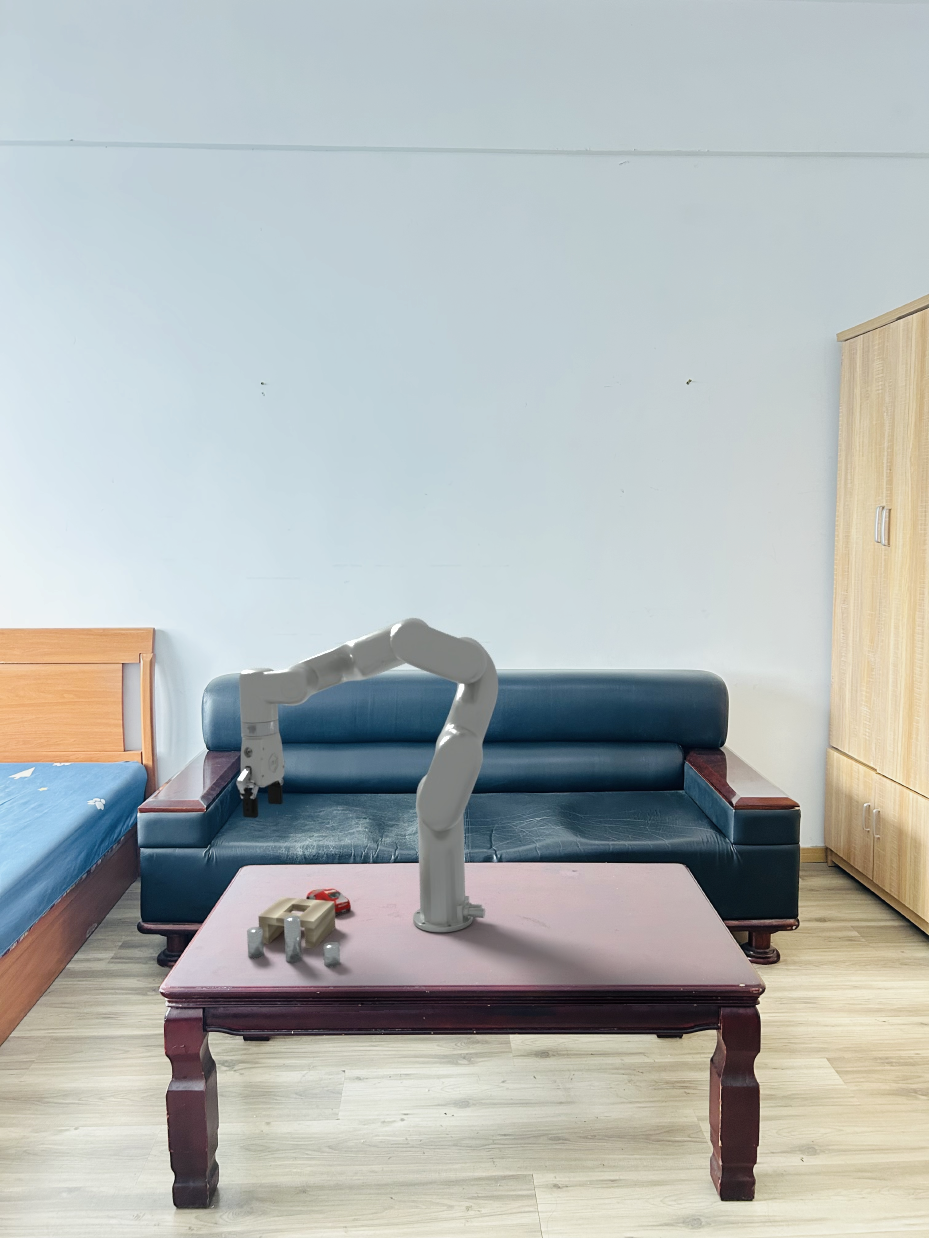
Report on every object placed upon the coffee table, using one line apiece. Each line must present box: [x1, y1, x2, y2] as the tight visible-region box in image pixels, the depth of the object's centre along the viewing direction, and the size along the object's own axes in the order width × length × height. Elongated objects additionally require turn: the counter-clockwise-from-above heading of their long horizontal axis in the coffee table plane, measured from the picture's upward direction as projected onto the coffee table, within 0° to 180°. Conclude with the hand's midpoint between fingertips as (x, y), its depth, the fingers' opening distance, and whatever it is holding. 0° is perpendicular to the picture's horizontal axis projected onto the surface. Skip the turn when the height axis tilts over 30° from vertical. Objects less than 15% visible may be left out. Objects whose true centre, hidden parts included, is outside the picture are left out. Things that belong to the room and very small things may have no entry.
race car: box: [305, 888, 352, 916], centre depth 191 cm, size 13×5×4 cm, turn 38°
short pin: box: [323, 941, 341, 968], centre depth 164 cm, size 3×3×4 cm
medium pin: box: [246, 926, 265, 960], centre depth 168 cm, size 3×3×5 cm
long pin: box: [283, 915, 303, 964], centre depth 166 cm, size 3×3×8 cm
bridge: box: [258, 896, 336, 949], centre depth 176 cm, size 12×10×6 cm
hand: (263, 810), depth 179 cm, fingers open, 9 cm apart
